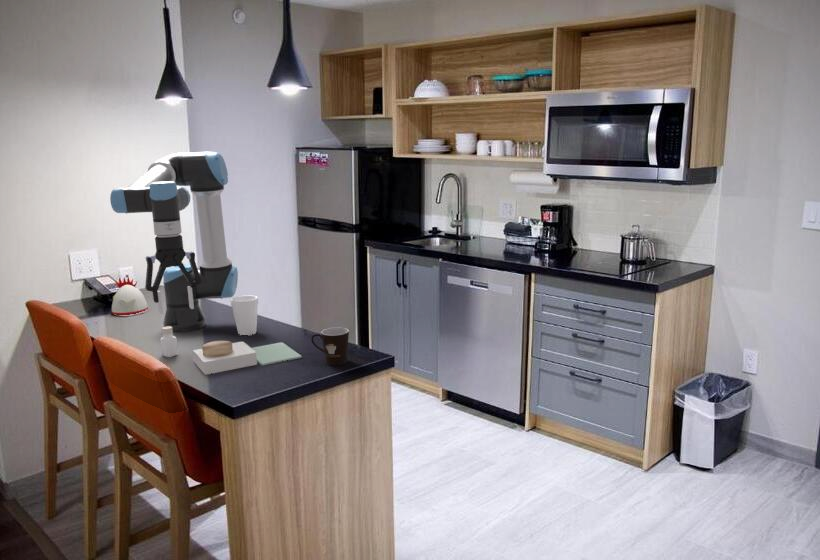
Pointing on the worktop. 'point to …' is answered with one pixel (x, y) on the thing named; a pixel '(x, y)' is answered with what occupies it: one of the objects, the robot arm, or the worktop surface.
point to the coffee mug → (334, 345)
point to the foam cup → (245, 313)
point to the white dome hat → (128, 299)
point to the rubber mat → (274, 353)
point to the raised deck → (226, 359)
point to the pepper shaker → (168, 342)
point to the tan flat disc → (217, 348)
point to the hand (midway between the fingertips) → (176, 310)
